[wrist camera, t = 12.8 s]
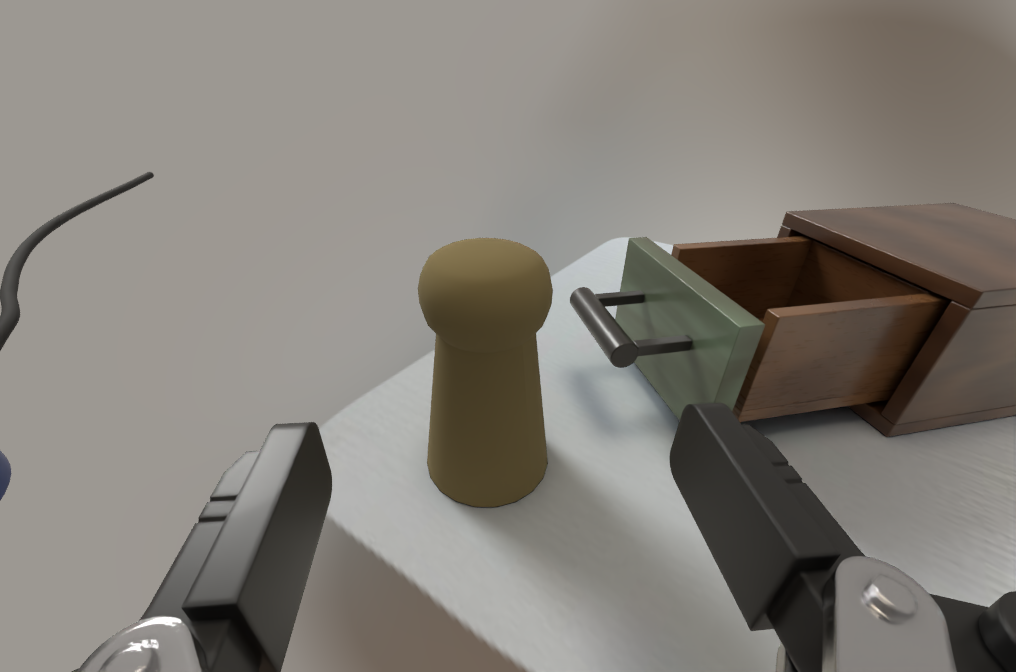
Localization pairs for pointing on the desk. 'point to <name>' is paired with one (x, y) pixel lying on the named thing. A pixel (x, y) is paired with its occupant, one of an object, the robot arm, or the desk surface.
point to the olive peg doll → (486, 369)
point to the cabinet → (965, 323)
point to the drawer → (761, 325)
